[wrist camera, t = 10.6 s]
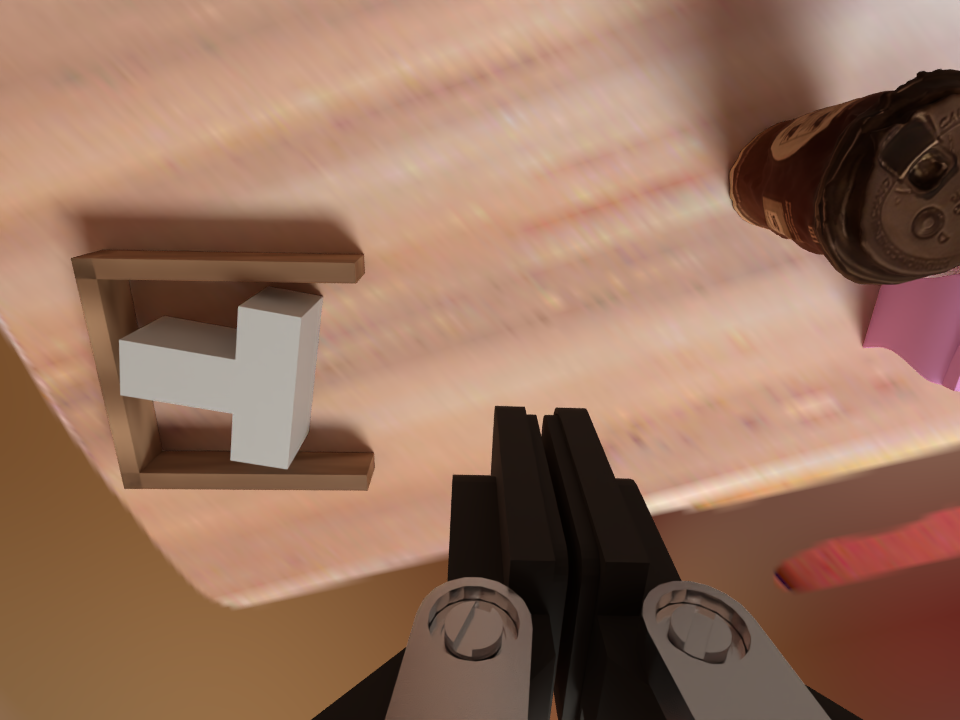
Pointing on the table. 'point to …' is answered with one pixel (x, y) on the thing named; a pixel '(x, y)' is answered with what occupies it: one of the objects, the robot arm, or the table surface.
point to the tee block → (236, 371)
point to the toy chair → (921, 326)
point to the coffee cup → (864, 181)
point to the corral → (134, 417)
